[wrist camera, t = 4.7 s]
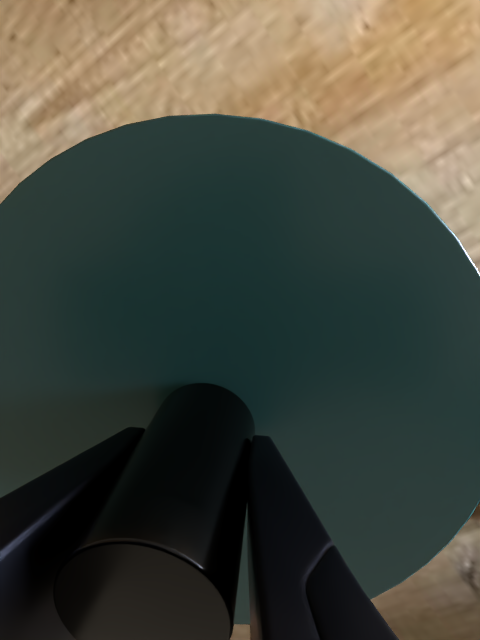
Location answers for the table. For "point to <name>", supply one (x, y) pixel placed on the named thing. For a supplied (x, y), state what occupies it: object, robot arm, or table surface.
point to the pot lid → (234, 360)
